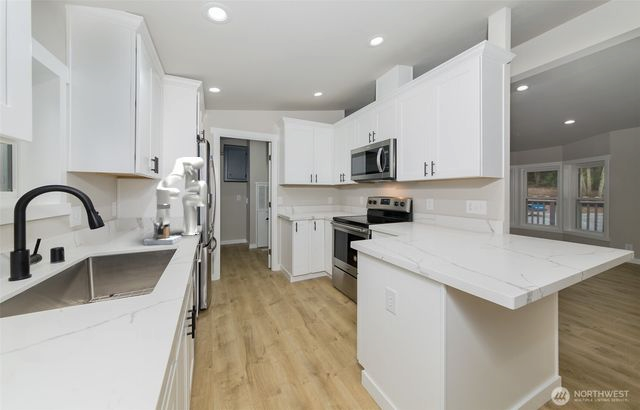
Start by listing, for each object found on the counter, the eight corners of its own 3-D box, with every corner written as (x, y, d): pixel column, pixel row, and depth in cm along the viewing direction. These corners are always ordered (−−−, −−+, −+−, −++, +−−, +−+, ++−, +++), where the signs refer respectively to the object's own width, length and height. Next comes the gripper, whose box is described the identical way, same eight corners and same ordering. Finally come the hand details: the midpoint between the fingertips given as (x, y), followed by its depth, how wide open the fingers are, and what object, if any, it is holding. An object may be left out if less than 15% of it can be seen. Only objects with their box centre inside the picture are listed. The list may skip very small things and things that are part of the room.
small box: (170, 238, 179) (170, 223, 179) (160, 239, 174) (160, 224, 174) (163, 236, 185) (163, 222, 185) (153, 238, 180) (153, 223, 180)
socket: (155, 240, 170) (155, 236, 170) (181, 240, 173) (181, 235, 173) (144, 245, 154) (143, 240, 154) (172, 244, 157) (172, 239, 157)
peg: (161, 241, 165) (161, 226, 165) (168, 241, 166) (168, 226, 166) (158, 243, 161) (158, 227, 161) (166, 243, 162) (166, 227, 162)
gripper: (162, 206, 171) (162, 231, 171) (150, 207, 154) (151, 235, 154) (174, 206, 172) (175, 231, 173) (164, 207, 155) (164, 235, 156)
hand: (163, 233), depth 163 cm, fingers open, 9 cm apart
